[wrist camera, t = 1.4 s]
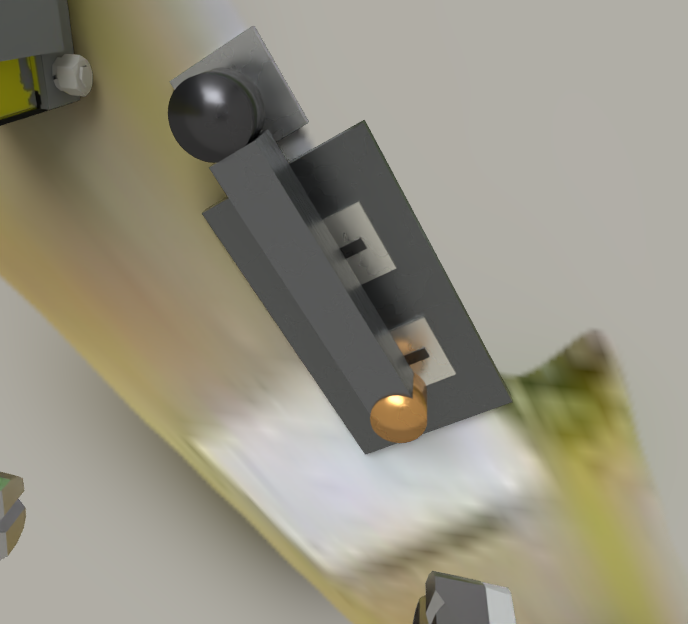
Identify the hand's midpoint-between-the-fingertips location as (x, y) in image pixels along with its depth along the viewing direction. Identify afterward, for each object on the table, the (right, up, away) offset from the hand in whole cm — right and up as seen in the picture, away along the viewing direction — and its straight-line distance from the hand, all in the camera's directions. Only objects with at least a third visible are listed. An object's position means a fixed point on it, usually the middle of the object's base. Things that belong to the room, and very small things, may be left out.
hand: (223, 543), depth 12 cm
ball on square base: (-4, +17, +25) cm, 30 cm away
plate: (+4, +5, +30) cm, 31 cm away
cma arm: (+1, +8, +26) cm, 27 cm away
